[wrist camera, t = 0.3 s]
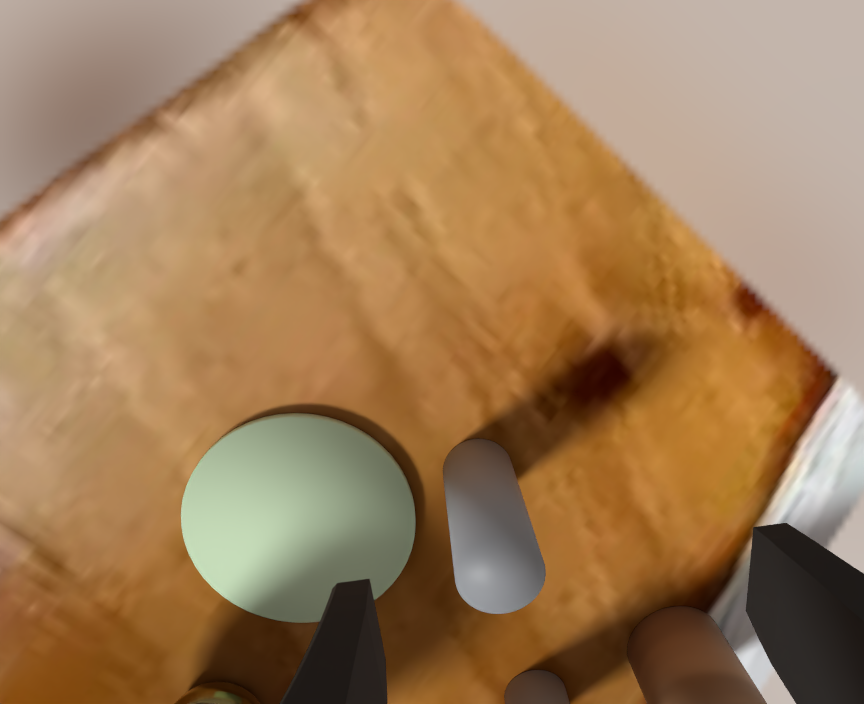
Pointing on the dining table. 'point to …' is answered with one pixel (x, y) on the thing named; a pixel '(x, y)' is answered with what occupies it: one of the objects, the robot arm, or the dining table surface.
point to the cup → (217, 694)
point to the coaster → (296, 515)
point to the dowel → (687, 661)
